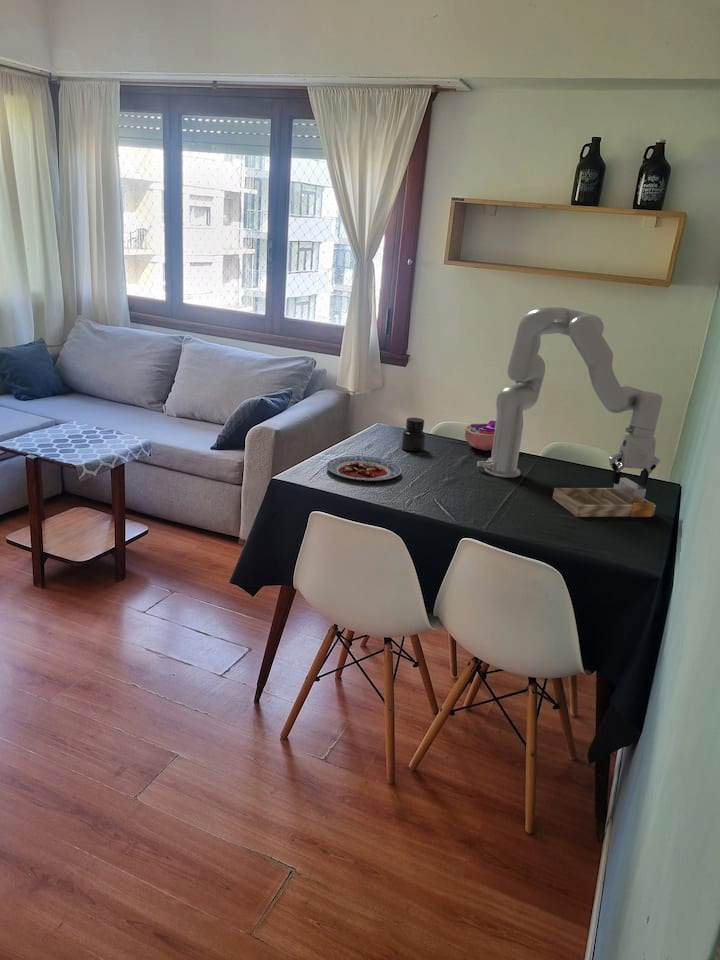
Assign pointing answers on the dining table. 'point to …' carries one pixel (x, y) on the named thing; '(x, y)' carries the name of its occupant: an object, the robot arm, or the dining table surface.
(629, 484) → the grey block
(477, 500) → the dining table surface
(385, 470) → the ceramic plate
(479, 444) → the cell model
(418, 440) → the ink bottle
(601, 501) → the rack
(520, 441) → the robot arm
